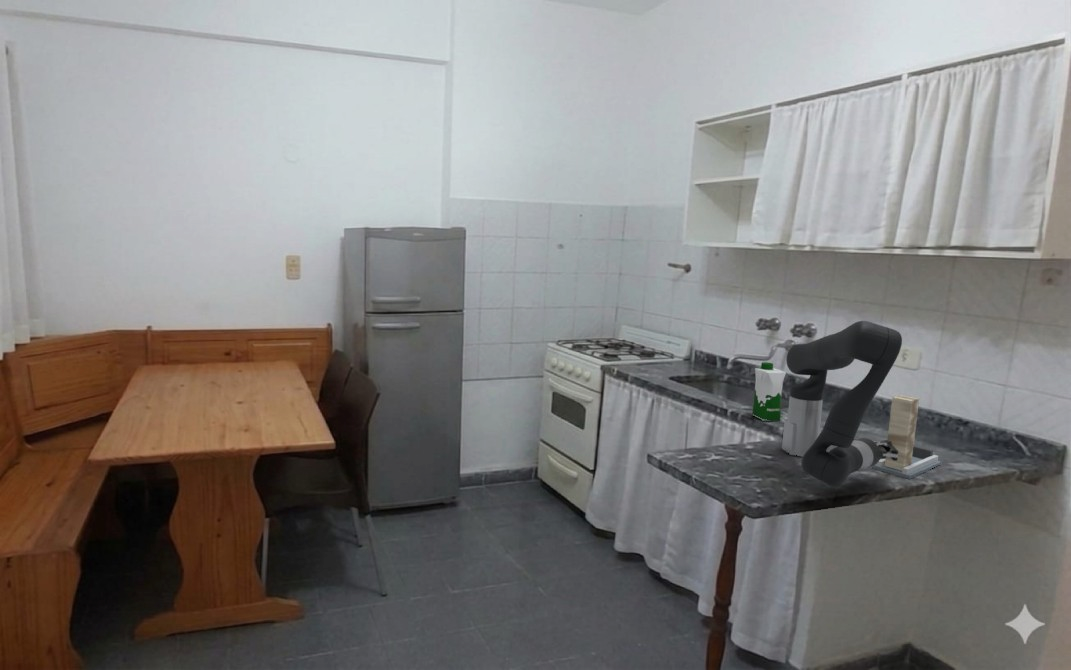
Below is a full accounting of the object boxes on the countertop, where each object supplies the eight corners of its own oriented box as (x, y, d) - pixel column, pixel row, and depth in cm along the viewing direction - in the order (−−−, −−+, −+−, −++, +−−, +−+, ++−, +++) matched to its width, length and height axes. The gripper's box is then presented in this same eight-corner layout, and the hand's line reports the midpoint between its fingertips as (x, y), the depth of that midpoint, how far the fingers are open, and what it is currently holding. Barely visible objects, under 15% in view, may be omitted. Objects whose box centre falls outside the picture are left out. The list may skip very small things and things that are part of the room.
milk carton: (769, 414, 242) (773, 361, 239) (784, 421, 233) (789, 366, 230) (748, 415, 239) (752, 362, 236) (763, 422, 231) (768, 367, 228)
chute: (909, 479, 178) (911, 465, 178) (872, 468, 186) (874, 454, 186) (940, 464, 191) (942, 451, 191) (904, 455, 199) (906, 442, 198)
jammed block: (903, 471, 181) (911, 400, 178) (884, 465, 185) (892, 397, 182) (910, 467, 184) (919, 398, 181) (892, 462, 188) (900, 395, 185)
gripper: (886, 447, 162) (915, 437, 173) (834, 434, 172) (865, 425, 183) (882, 476, 163) (912, 464, 174) (831, 461, 173) (862, 451, 184)
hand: (888, 444), depth 178 cm, fingers closed
